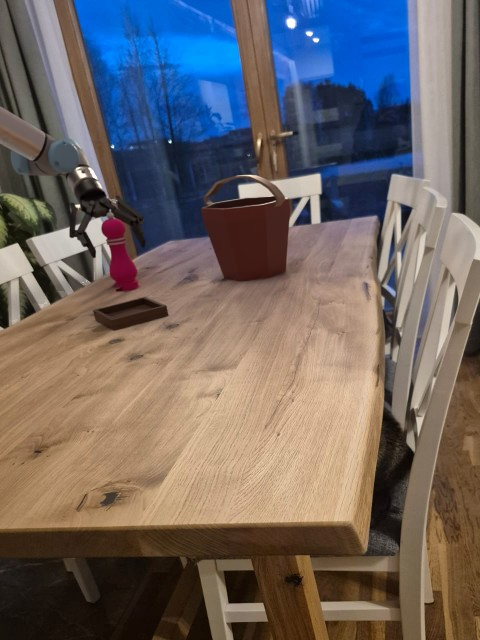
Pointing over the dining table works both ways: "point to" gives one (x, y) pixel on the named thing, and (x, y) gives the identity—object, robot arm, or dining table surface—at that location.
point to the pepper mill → (119, 255)
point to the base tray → (130, 313)
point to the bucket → (249, 232)
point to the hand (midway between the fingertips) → (119, 249)
